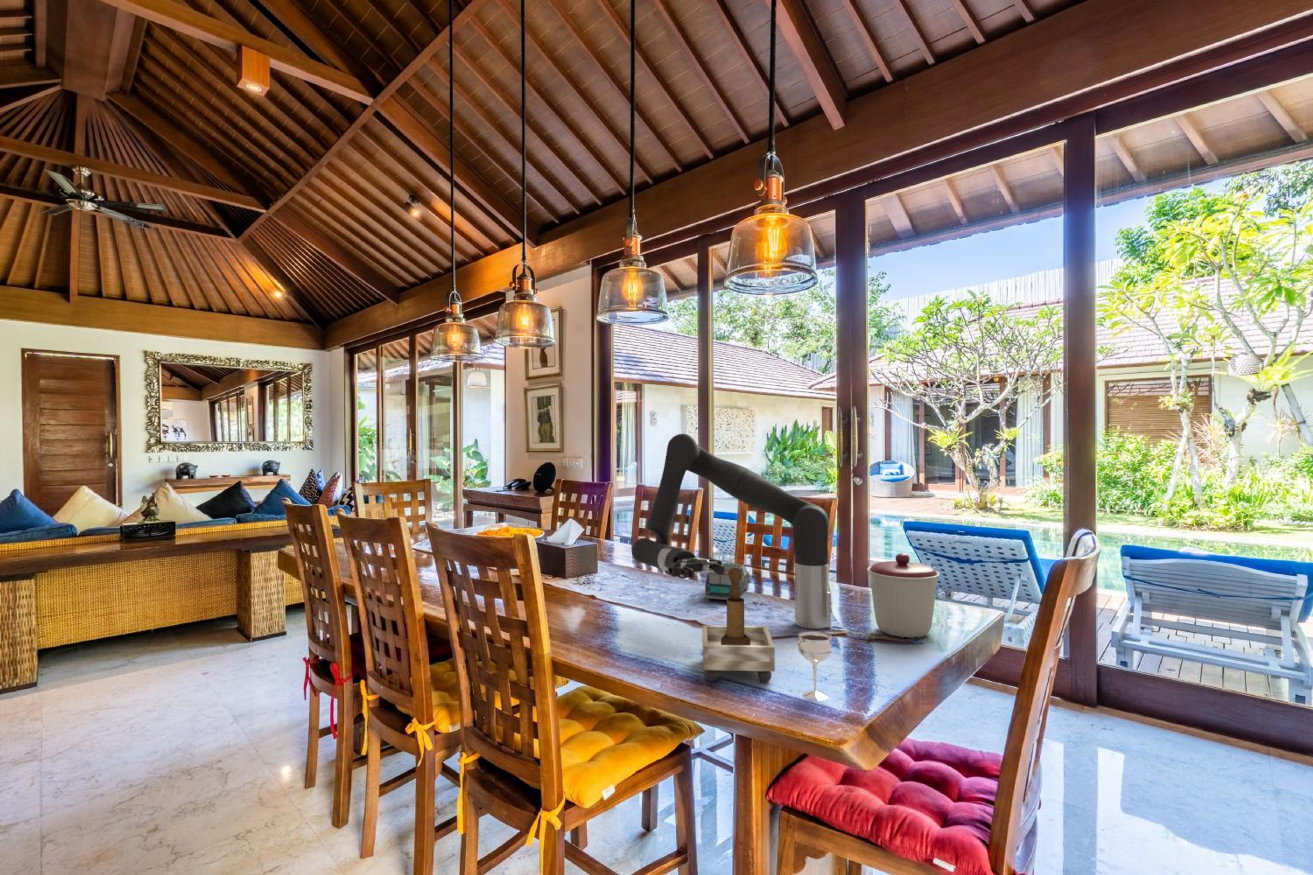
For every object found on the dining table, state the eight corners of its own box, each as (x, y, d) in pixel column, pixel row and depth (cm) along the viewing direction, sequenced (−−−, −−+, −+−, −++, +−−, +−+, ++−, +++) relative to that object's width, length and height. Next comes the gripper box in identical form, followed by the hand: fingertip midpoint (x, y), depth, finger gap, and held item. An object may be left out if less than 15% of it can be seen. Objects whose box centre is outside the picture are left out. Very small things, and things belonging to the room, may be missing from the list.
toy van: (750, 587, 218) (750, 559, 218) (736, 605, 195) (736, 573, 195) (721, 585, 222) (721, 557, 222) (703, 602, 198) (703, 571, 199)
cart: (767, 660, 145) (767, 626, 145) (775, 685, 130) (774, 647, 130) (703, 659, 146) (702, 625, 146) (703, 684, 131) (702, 646, 131)
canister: (863, 621, 176) (863, 546, 176) (931, 624, 172) (930, 548, 173) (872, 641, 158) (871, 558, 159) (948, 645, 155) (947, 560, 155)
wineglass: (795, 699, 123) (795, 638, 123) (800, 686, 129) (799, 628, 129) (831, 704, 120) (830, 642, 120) (834, 691, 127) (833, 632, 127)
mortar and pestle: (743, 656, 133) (742, 572, 133) (715, 650, 137) (715, 569, 137) (755, 647, 139) (754, 567, 139) (728, 642, 142) (728, 564, 142)
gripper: (652, 549, 162) (682, 559, 148) (699, 544, 168) (732, 553, 154) (652, 578, 162) (682, 591, 147) (699, 572, 168) (733, 584, 154)
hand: (708, 572), depth 151 cm, fingers open, 8 cm apart
